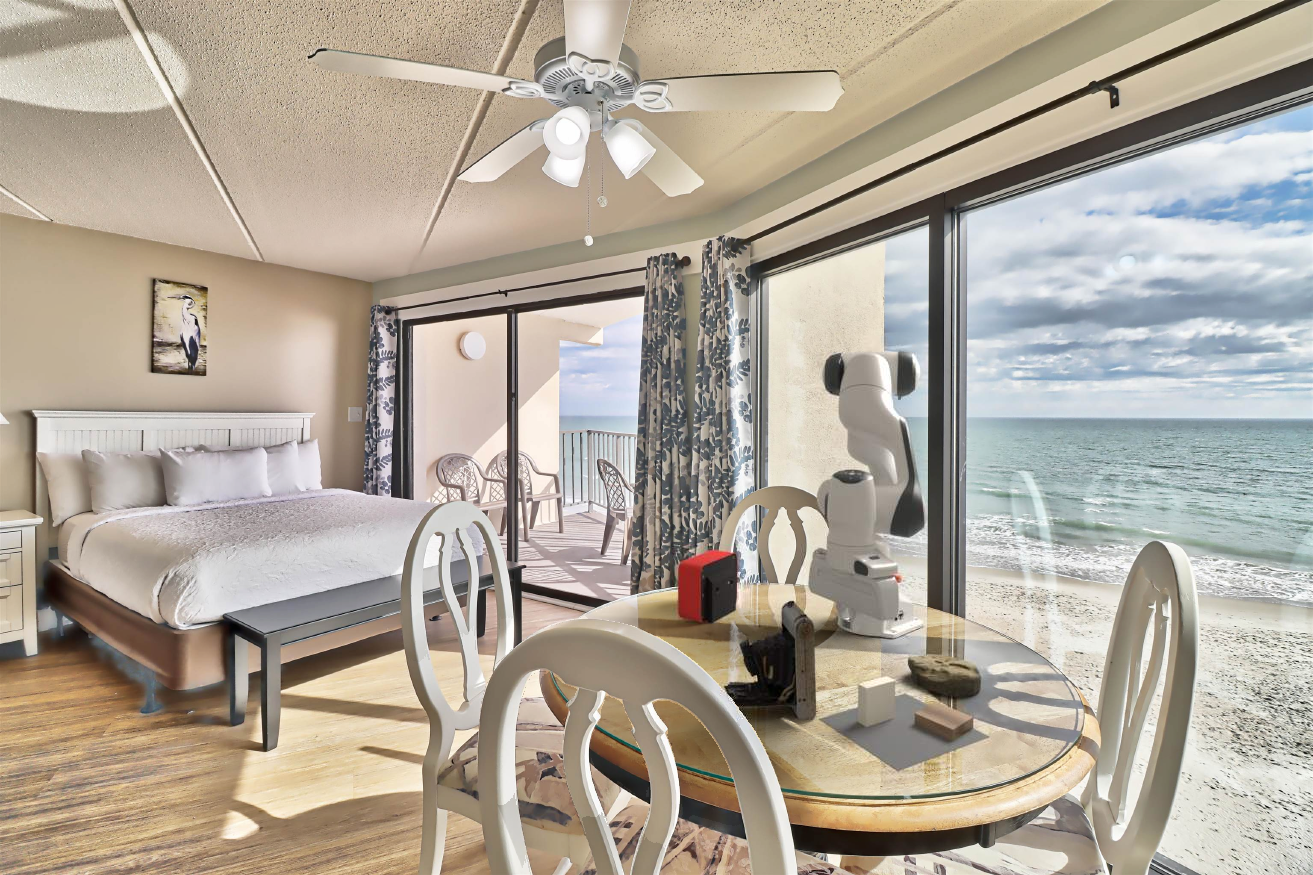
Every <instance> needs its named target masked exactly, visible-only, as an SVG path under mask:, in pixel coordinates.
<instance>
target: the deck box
mask: <svg viewBox="0 0 1313 875" xmlns="http://www.w3.org/2000/svg"><path fill="white" fill-rule="evenodd" d="M857 689H858V690H857V707H858V722H859V723H860V724H862V725H864V726H865V727H868V726H871V725H874V724H877V723H880V722H883V721H887V720H890V719H893V718H895V696H896V680H895V679H893V678H891V677H889V676H887V675H886V676H883V677H878V678H875V679H872V680H867V681H865V682H860V683H858V687H857Z"/></svg>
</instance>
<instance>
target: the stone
mask: <svg viewBox="0 0 1313 875" xmlns="http://www.w3.org/2000/svg"><path fill="white" fill-rule="evenodd" d="M907 666H908V669H909V670H910V673H911V675H912V676H911V677H912V678H911V679H912V681H913V683H914V685H916V686H918V687H921V688H922V689H925V690H927V691H929V692H933V693H935V694H940V695H943V696H947V697H956V698H964V697H965V698H966V697H972V696H975V695H976V694H977V693H978V692H979V691H980V690H981V687H982V676H981V673H980V671H979V669H978V668H977V666H976V665H975V664H974V663H972V662H970V661H969V660H965V659H958V658H955V657H952V656H947V655H941V654H933V653H927V654H923V655H916V656H915V655H914V656H909V657H908V658H907Z"/></svg>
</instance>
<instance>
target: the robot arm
mask: <svg viewBox="0 0 1313 875" xmlns="http://www.w3.org/2000/svg"><path fill="white" fill-rule="evenodd" d="M920 377H921V367H920V364H919V362H918V360H917V357H916V355H915V354H914V353H912V352H909V351H904V350H899V351H892V350H870V351H867V350H866V351H855V352H849V353H848V352H846V353H843V352H839V353H838V352H837V353H835V354H831V355H829V357H827V359H826V360H825V363H824V365H823V368H822V372H821V379H822V383H823V385H824V388H825V390H826V392H828V394H830V395H831V396H832V395H833V396H836V397H838V406H837V407H838V419H839V421H840V422H841V424H842V426H843V427H844V428H845V429H846V431H847V441H846V442H847V445H846V450H847V452H848V454H849V456H850V457H851V458H852V459H853V460H855V461H857V462H859V463H860V464H863V465H864V466H866V467H867V468H868V470H869V472H868V471H864V470H860V469H844V470H839V471H836V472H834V473H833V474H832V475H831V476H830V477H831V478H829V479H825V480H824V481H823V482H821V484H820V485H819V487H818V490H817V493H816V503H817V506H818V508H819V510H820V512H821V513H822V514H823V515H824V519H825V520H826V522H827V523H828V533H827V536H826V549H825V548H823V547H817V549H815V550H814V551H813V552H812V560H811V562H810V565H809V572H808V582H807V583H808V584H807V585H808V589H809V591H810V593H812V594H814V595H817V596H819V597H821V598H824V599H827V600H829V601H832V602H834V603H835V609H836V611H837V613H838V616H837V617H838V618H837V623H836V624H837V625H838V627H839V628H841V629H842V630H844V631H846V632H850V633H851V634H856V635H857V634H858V635H860V636H861V635H862V636H869V637H881V638H887V639H896V638H899V637H901V636H904V635H906V634H909V633H911V632H913V631H915V630H917V629H920V628H923V627H924V621H923V620H922V619H921V618H919V617H917V616H915V610H914V605H913V602H912V601H911V599H909V598H908V597H907V596H905V595H904V594H903V593H902V592H901V591H900V590H899V589H900V588H899V584H901V582H902V581H903V576H902V575H901V574H898V572H899V566H898V564H897V562H895V561H894V560H893V559H891V547H890V544H889V542H888V541H887V540H886V539H885V538H884V537H883V536H881V535H880V534H883V535H890V536H894V537H900V538H907V539H910V538H912V537H914V536H915V535H916V534H918V533H919V532H920V531H922V530H923V529H924V528H925V525H926V522H927V520H928V519H927V517H928V509H927V508H928V507H927V504H926V500H925V497H924V494H923V492H922V490H921V489H922V488H921V484H920V480H919V472H918V468H917V462H916V457H915V455H916V454H915V451H914V445H913V441H912V436H911V433H910V432H911V431H910V428H909V425H908V422H907V420H906V418H904V417H903V416H901V415H899V414H898V413H897V412H896V410H895V409H894V401H893V396H896V397H897V400H898V401H900V400H902V398H903V397H906V396H909V395H910V394H912V392H914V391H915V390H916V388H917V385H918V383H919V381H920Z"/></svg>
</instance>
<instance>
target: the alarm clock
mask: <svg viewBox="0 0 1313 875" xmlns="http://www.w3.org/2000/svg"><path fill="white" fill-rule="evenodd" d="M737 601H738V554H737V553H736V552H732V551H731V552H730V551H724V550H719V549H718V550H717V549H711V550H707V551H705V552H704V553H700V554H697V555H694V556H693V557H689V558H687V559H684V560H682V561H681V562H680V563H679V564H678V568H677V614H678V616H679V618H682V619H686V620H691V621H694V622H699V623H709V624H713V623H715V622H717V621H719V620H722V619H723V618H725V617H727V616H728V615H730V614H732V613H733V612H735V611H736V610H737V603H738V602H737Z"/></svg>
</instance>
